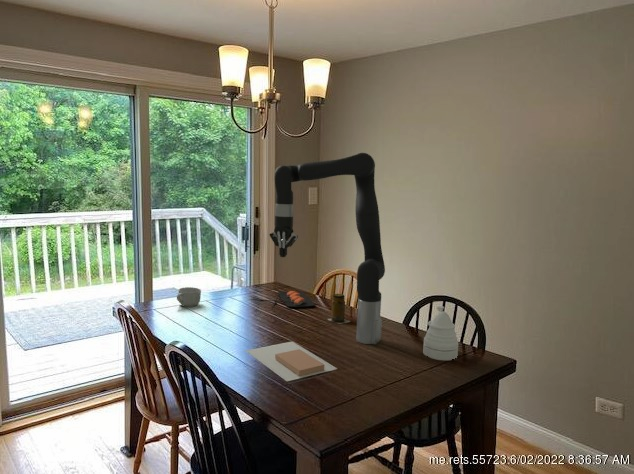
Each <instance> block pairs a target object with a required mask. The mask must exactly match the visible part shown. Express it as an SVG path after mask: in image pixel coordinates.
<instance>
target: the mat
mask: <svg viewBox="0 0 634 474" xmlns="http://www.w3.org/2000/svg"><path fill="white" fill-rule="evenodd" d="M298 349H300V350H302V351H303V352H305V353H307V354H308V355H310V356H311V357H313V358H315V359H316V360H318V361H320V362H321V363H323V364H324V370H321V371H317V372H313V373H309V374H304V375H300V376H299V375H297V374H296V373H294V372H293V371H292V370H290V369H289V368H287V367H286V366H284V365H283V364H282V363H280V362H279V361H277V360H276V359H275V354H279V353H283V352H288V351H293V350H298ZM245 351H246V353H248V354H249V355H250V356H252V357H254V359H256V360H258V361H259V363H261V364H263V365H264V366H265V367H267V369H270V370H271V371H272V372H274V374H276V375H278V376H279V377H280V378H282V380H284V381H285V382H289V383H287V385H289V384H293V383H297V382H301V381H307V380H309V379H314V378H319V377H321V376H325V375H331V374H333V373H337V372H338V367H335V366H333V365H332V364H330V363H329V362H327V361H326V360H324V359H322V358H321V357H319V356H317V355H315V354H314V353H312V352H310V350H308V349H306V348H304V347H303V346H301V345H299V344H298V343H296V342H294V341H288V342H282V343H277V344H273V345H268V346H262V347H257V348H252V349H247V350H246V349H245ZM336 370H337V371H336ZM330 371H332V372H330ZM322 373H324V374H322ZM318 374H321V375H318ZM314 375H316V376H314ZM310 376H312V377H310ZM307 377H309V378H307ZM303 378H304V379H303ZM298 379H300V380H298ZM295 380H297V381H295ZM290 381H292V382H290Z"/></svg>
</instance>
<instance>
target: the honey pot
mask: <svg viewBox="0 0 634 474" xmlns="http://www.w3.org/2000/svg"><path fill="white" fill-rule="evenodd" d="M444 309H445V307H444V306H442V305H437V306H436V310H437V311H438V313H437V314H436V315H435V316H434V318H433V319H432V320H429V321H428V322H427V325H428V326H429V327H428V329H427V330H426V333H425V336H424V337H423V347H422V350H423V351H422V353H423V355H424V356H425V357H427V356H428V358H430V359H433V360H437V361H452V359H454V360H456V359H457V358H458V357H457V356H458V355H459V345H460V344H459V341H458V336H457V332H456V330H455V328H456V324H454V323H453V321H452V318H451V316H450V315H449V314H448V313H447V312H446V311H444ZM455 358H456V359H455Z"/></svg>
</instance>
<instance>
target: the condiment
mask: <svg viewBox="0 0 634 474" xmlns="http://www.w3.org/2000/svg"><path fill="white" fill-rule="evenodd" d="M345 299H346V298H345V294H343V293H334V294H333V296H332V300H331V312H330V313H331V316H330V318H327V321H329V322H333V323H335V324H338V325H342V324H348V323H350V322H352V321H351V320H348V319H346V318H345V315H346V314H345V311H346V301H345Z"/></svg>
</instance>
